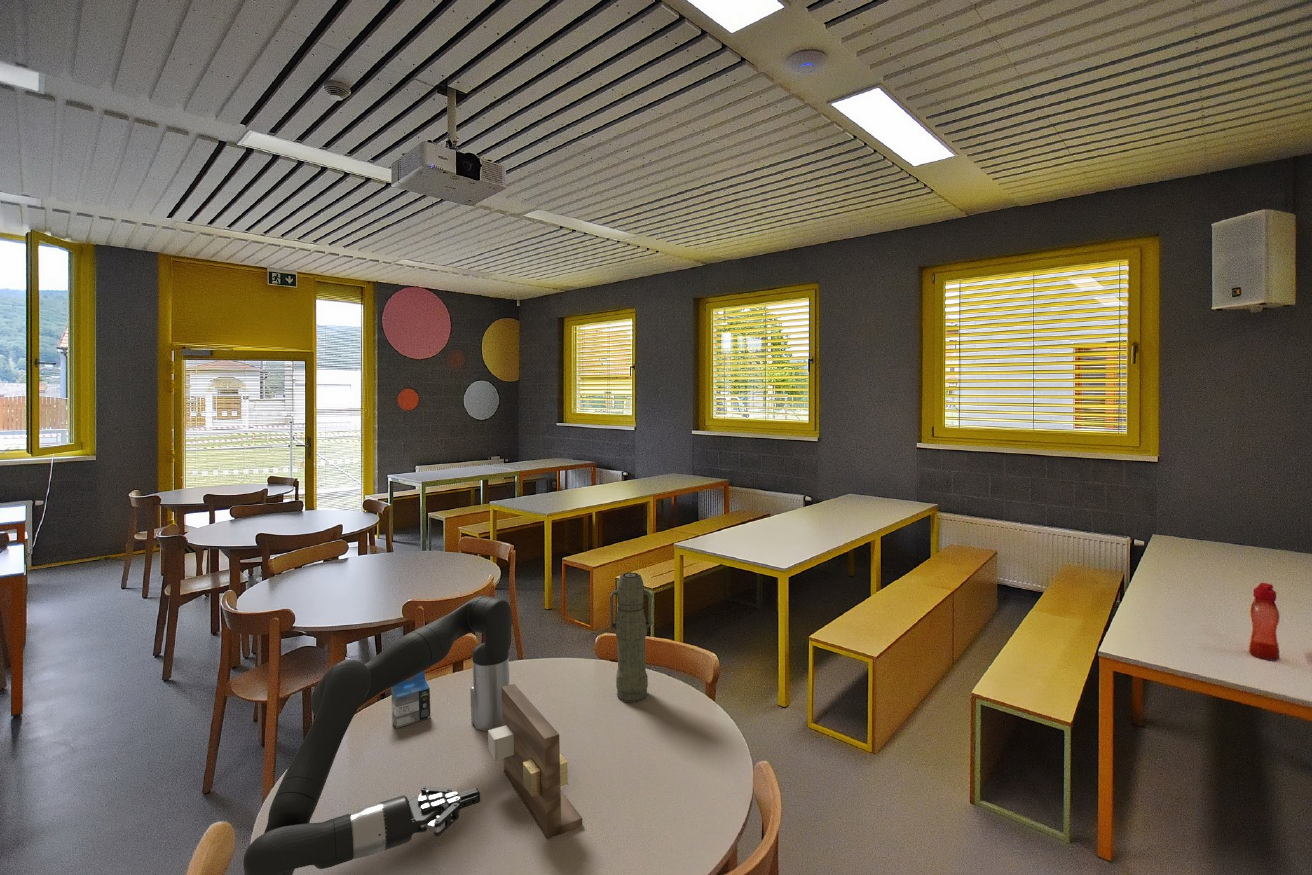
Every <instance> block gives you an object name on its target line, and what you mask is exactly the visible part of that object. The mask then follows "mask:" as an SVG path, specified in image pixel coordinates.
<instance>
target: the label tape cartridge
mask: <svg viewBox="0 0 1312 875" xmlns="http://www.w3.org/2000/svg"><path fill="white" fill-rule="evenodd" d="M425 675H426V674H425V670H424V671H422V672H420V673H418V674H417V675H415V676H413V677H412V678H409V679H407V680H405V681H403V682H401V683H399V684H397V685H395V686H393V687H391V719H392V720H391V721H392V724H393V726H394V727H395V728H396V727H397V728H396V729H399V728H402V727H406V726H410V725H412V724H414V723H415V724H416V723H417V722H421V721H424V720H427V719H430V718H432V717H431V694H430V692H431V690H430V686H429V683H428V681H427V679H426V676H425Z"/></svg>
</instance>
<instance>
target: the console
mask: <svg viewBox="0 0 1312 875" xmlns="http://www.w3.org/2000/svg"><path fill="white" fill-rule="evenodd" d="M501 689H502V726H505V725H508V727H509V728H510V729H511V731H512V732H513V733H514V755H512V756H509V757H505V758H502V759H503V774H504V775H505V777H506V778H507V780H508V781H509V783H510V784H511V786H512V788H513V789H514V791H515V792H516V794H517V795H518V798H519V799H520V800H521V802H522V803H523V804H524V806H525V808H526V809H527V810H528V812H529V814H530V815H531V817H532V818H533V820H534V821H535V823H536V824H537V826H538V828H539V829H540V831H541V832H542V834H543V836H544V837H545V839H546V840H549V839H552V838H554V837H556V836H559V835H561V834H564V833H567V832H569V831H573V829H576V828H579V827H581V826H583V817H582V816H581V814H580V813H579V812H578V810H577V809H576V808H575V806H574V805H573V804H572V802H571V801H570V800H569V799H568V797H567V796H566V794H565V793H564V792H563V791H562V788H561V787H560V754H561V751H560V750H561V749H560V733H559V732H558V731H557V730H556V729H555V728H554V727H553V726H552V724H551V723H550V722H549V721H548V719H546V718H545V717H544V715H543V714H542V713H541V712H540V711H539V709H537V707H536V706H535V705H534V704H533V703H532V702H531V700H530V699H529V698H528V697H527V696H526V695H525V693H524V692H522V691H521V689H520V688H519V687H518V686H517V685H516V684H515V683H510V685H507V686H503V687H501ZM532 759H533V760H534V761H535V762H536V764H537V765H538V766H539V768H540V769H541V787H542V793H541V794H538V795H535V796H532V797H531V795H530V794H529V792H528V791H527V789H526V788H525V786H524V785H523V762H526V761H529V760H532Z"/></svg>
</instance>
